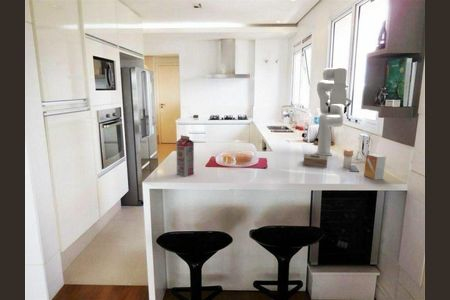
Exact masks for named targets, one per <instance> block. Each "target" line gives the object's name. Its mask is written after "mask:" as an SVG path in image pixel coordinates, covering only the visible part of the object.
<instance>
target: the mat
mask: <svg viewBox="0 0 450 300" xmlns="http://www.w3.org/2000/svg"><path fill="white" fill-rule="evenodd" d="M347 169H348V171H349V172H350V173H351V172H352V173H360V170H359V168H357V166H356V165H355V164H354V165H353V164H351V168H347Z"/></svg>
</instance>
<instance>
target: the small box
mask: <svg viewBox="0 0 450 300" xmlns="http://www.w3.org/2000/svg"><path fill="white" fill-rule="evenodd" d="M386 159H387V156H385V155H381V154H377V153H367V154H366V155H365V165H364V171H363V176H365V177H368V178H370V179H372V180H383V179H384V174H385V165H386Z"/></svg>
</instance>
